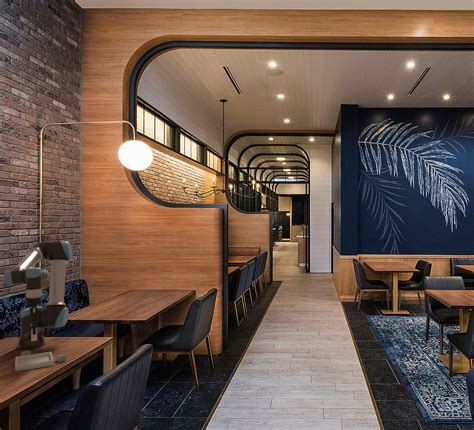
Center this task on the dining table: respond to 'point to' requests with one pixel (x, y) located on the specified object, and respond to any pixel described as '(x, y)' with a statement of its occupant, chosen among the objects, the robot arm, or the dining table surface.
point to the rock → (28, 337)
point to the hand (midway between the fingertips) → (34, 337)
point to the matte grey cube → (25, 353)
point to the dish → (33, 361)
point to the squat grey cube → (61, 358)
